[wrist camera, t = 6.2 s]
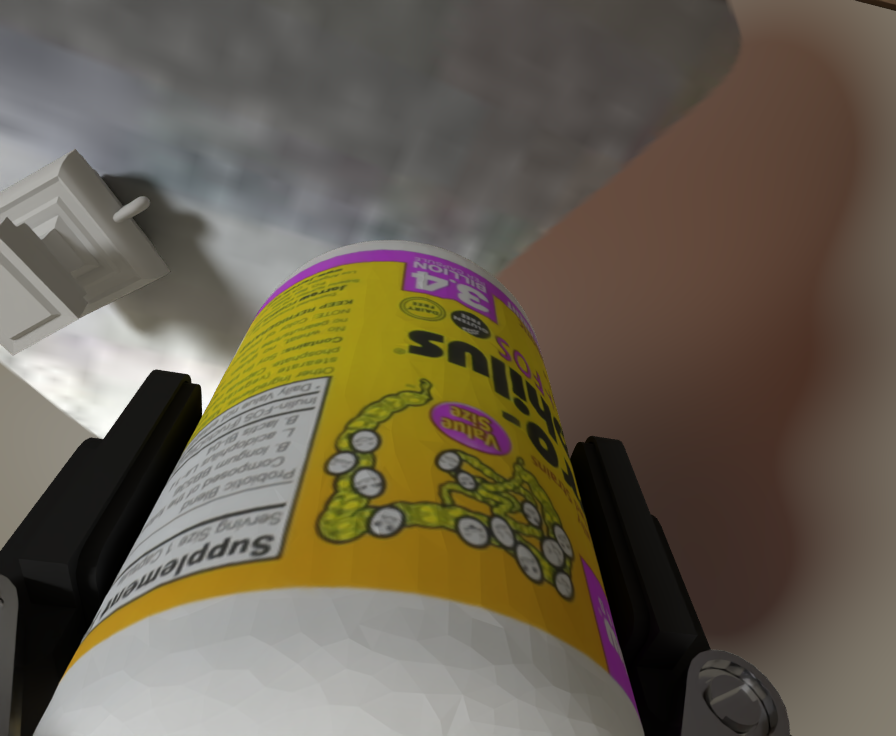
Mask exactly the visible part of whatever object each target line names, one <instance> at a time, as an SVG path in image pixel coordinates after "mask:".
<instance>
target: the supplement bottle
mask: <svg viewBox="0 0 896 736" xmlns="http://www.w3.org/2000/svg"><path fill="white" fill-rule="evenodd" d="M33 736H645V735H644V731H643V727H642V724H641V720H640V716H639V713H638V709H637V706H636V702H635V699H634V695H633V691H632V688H631V684H630V681H629V677H628V673H627V670H626V666H625V663H624V659H623V656H622V653H621V649H620V646H619V642H618V639H617V635H616V631H615V627H614V624H613V620H612V616H611V612H610V608H609V604H608V600H607V596H606V592H605V589H604V585H603V581H602V577H601V573H600V569H599V566H598V562H597V558H596V554H595V551H594V547H593V543H592V539H591V535H590V532H589V528H588V524H587V521H586V517H585V513H584V509H583V505H582V501H581V498H580V494H579V491H578V487H577V483H576V480H575V476H574V472H573V468H572V465H571V462H570V458H569V455H568V449H567V446H566V443H565V439H564V435H563V431H562V427H561V423H560V420H559V416H558V412H557V409H556V405H555V402H554V398H553V395H552V390H551V386H550V382H549V379H548V375H547V371H546V367H545V364H544V360H543V357H542V354H541V351H540V348H539V344H538V341H537V338H536V335H535V332H534V329H533V327H532V325H531V323H530V321H529V319H528V317H527V315H526V314H525V312H524V310H523V309H522V307H521V306H520V304H519V303H518V301H517V300H516V299H515V297H514V296H513V295H512V294H511V293H510V292H509V291H508V290H507V289H506V288H505V287H504V285H503V284H501V283H500V282H499V281H498V280H497V279H496V278H495V277H494V276H492V275H491V274H490V273H488V272H487V271H486V270H484V269H483V268H481V267H480V266H478V265H477V264H475V263H473V262H472V261H470V260H468V259H466V258H464V257H462V256H460V255H458V254H455V253H453V252H450V251H448V250H445V249H443V248H439V247H435V246H432V245H428V244H422V243H416V242H410V241H400V240H381V241H368V242H361V243H356V244H352V245H348V246H344V247H341V248H338V249H334V250H332V251H329V252H326V253H324V254H322V255H320V256H318V257H316V258H314V259H312V260H311V261H309V262H307V263H306V264H304V265H303V266H301V267H300V268H299V269H297V270H296V271H295V272H294V273H292V274H291V275H290V276H289V277H288V278H286V279H285V280H284V281H283V282H282V283H281V284H280V285H279V286H278V287H277V288H276V289H275V290H274V292H273V293H272V294H271V295H270V296H269V298H268V299H267V300H266V302H265V303H264V305H263V306H262V307H261V309H260V310H259V312H258V313H257V315H256V317H255V319H254V320H253V322H252V324H251V326H250V327H249V329H248V331H247V333H246V335H245V337H244V339H243V340H242V342H241V344H240V346H239V348H238V350H237V351H236V353H235V355H234V357H233V359H232V361H231V363H230V365H229V367H228V369H227V370H226V372H225V374H224V376H223V378H222V380H221V382H220V384H219V385H218V387H217V389H216V391H215V393H214V395H213V397H212V399H211V401H210V403H209V405H208V406H207V408H206V410H205V412H204V414H203V416H202V418H201V419H200V421H199V423H198V425H197V427H196V429H195V431H194V433H193V434H192V436H191V438H190V440H189V442H188V443H187V445H186V447H185V449H184V451H183V453H182V455H181V457H180V459H179V461H178V463H177V465H176V467H175V469H174V471H173V473H172V474H171V476H170V478H169V480H168V482H167V484H166V486H165V488H164V489H163V491H162V493H161V495H160V497H159V499H158V501H157V503H156V504H155V506H154V508H153V510H152V512H151V514H150V516H149V518H148V520H147V521H146V523H145V525H144V527H143V529H142V531H141V533H140V535H139V536H138V538H137V540H136V542H135V544H134V546H133V548H132V549H131V551H130V553H129V555H128V557H127V559H126V561H125V562H124V564H123V566H122V568H121V570H120V572H119V573H118V575H117V577H116V579H115V581H114V583H113V585H112V587H111V589H110V590H109V592H108V594H107V595H106V597H105V599H104V601H103V603H102V605H101V607H100V609H99V611H98V612H97V614H96V616H95V618H94V620H93V622H92V624H91V626H90V628H89V629H88V631H87V632H86V633H85V635H84V637H83V639H82V641H81V644H80V646H79V647H78V649H77V651H76V653H75V655H74V656H73V658H72V660H71V662H70V664H69V666H68V667H67V669H66V671H65V673H64V675H63V677H62V679H61V680H60V682H59V685H58V687H57V689H56V691H55V693H54V695H53V698H52V700H51V702H50V703H49V705H48V707H47V709H46V711H45V713H44V715H43V716H42V718H41V720H40V722H39V724H38V726H37V728H36V730H35V732H34V734H33Z"/></svg>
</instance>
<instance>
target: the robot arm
mask: <svg viewBox="0 0 896 736" xmlns="http://www.w3.org/2000/svg"><path fill="white" fill-rule="evenodd" d="M201 418H202V395H201V386H200V385H199V384H193V383H191V378H190V376H189V375H188V374H182V373H175V372H169V371H162V370H153V371H152V372H151V373H150V374H149V376H148V377H147V378H146V380H145V381H144V383H143V384H142V385H141V387H140V388H139V390H138V391H137V393H136V394H135V395H134V397H133V398H132V400H131V401H130V402H129V404H128V405H127V407H126V408H125V409H124V411H123V412H122V414H121V415H120V416H119V418H118V419H117V421H116V422H115V423H114V425H113V426H112V428H111V429H110V431H109V432H108V433H107V435H106V436H105V438H104V439H98V438H89V439H87V440H85V441H84V442H83V443H82V444H81V445H80V446H79V447H78V448H77V450H76V451H75V452H74V454H73V455H72V456H71V458H70V459H69V460H68V462H67V463H66V464H65V466H64V467H63V468H62V470H61V471H60V472H59V474H58V475H57V476H56V478H55V479H54V480H53V482H52V483H51V484H50V486H49V487H48V488H47V490H46V491H45V492H44V494H43V495H42V496H41V498H40V499H39V500H38V502H37V503H36V504H35V506H34V507H33V508H32V510H31V511H30V512H29V514H28V515H27V516H26V518H25V519H24V520H23V522H22V523H21V524H20V526H19V527H18V528H17V530H16V531H15V532H14V534H13V535H12V536H11V538H10V539H9V540H8V542H7V543H6V544H5V546H4V547H3V548H2V550H1V551H0V736H33V734H34V732H35V730H36V728H37V726H38V724H39V722H40V720H41V718H42V716H43V715H44V713H45V711H46V709H47V707H48V705H49V703H50V702H51V700H52V698H53V695H54V693H55V691H56V689H57V687H58V685H59V682H60V680H61V679H62V677H63V675H64V673H65V671H66V669H67V667H68V666H69V664H70V662H71V660H72V658H73V656H74V655H75V653H76V651H77V649H78V647H79V646H80V644H81V641H82V639H83V637H84V635H85V633H86V632H87V631H88V629H89V628H90V626H91V624H92V622H93V620H94V618H95V616H96V614H97V612H98V611H99V609H100V607H101V605H102V603H103V601H104V599H105V597H106V595H107V594H108V592H109V590H110V589H111V587H112V585H113V583H114V581H115V579H116V577H117V575H118V573H119V572H120V570H121V568H122V566H123V564H124V562H125V561H126V559H127V557H128V555H129V553H130V551H131V549H132V548H133V546H134V544H135V542H136V540H137V538H138V536H139V535H140V533H141V531H142V529H143V527H144V525H145V523H146V521H147V520H148V518H149V516H150V514H151V512H152V510H153V508H154V506H155V504H156V503H157V501H158V499H159V497H160V495H161V493H162V491H163V489H164V488H165V486H166V484H167V482H168V480H169V478H170V476H171V474H172V473H173V471H174V469H175V467H176V465H177V463H178V461H179V459H180V457H181V455H182V453H183V451H184V449H185V447H186V445H187V443H188V442H189V440H190V438H191V436H192V434H193V433H194V431H195V429H196V427H197V425H198V423H199V421H200V419H201ZM570 462H571V465H572V468H573V472H574V476H575V480H576V483H577V487H578V491H579V494H580V498H581V501H582V505H583V509H584V513H585V517H586V521H587V524H588V528H589V532H590V535H591V539H592V543H593V547H594V551H595V554H596V558H597V562H598V566H599V569H600V573H601V577H602V581H603V585H604V589H605V592H606V596H607V600H608V604H609V608H610V612H611V616H612V620H613V624H614V627H615V631H616V635H617V639H618V642H619V646H620V649H621V653H622V656H623V659H624V663H625V666H626V670H627V673H628V677H629V681H630V684H631V688H632V691H633V695H634V699H635V702H636V706H637V709H638V713H639V716H640V720H641V724H642V727H643V731H644V735H645V736H791V735H790V727H789V719H788V715H787V710H786V707H785V705H784V703H783V701H782V699H781V697H780V695H779V693H778V691H777V690H776V689H775V687H774V686H773V685H772V684H771V682H770V681H769V680H768V678H767V677H766V676H765V675H763V674H762V673H761V672H760V671H759V670H758V669H757V668H756V667H755V666H754V665H752V664H750V663H749V662H747V661H746V660H744V659H742V658H741V657H739V656H737V655H734V654H731V653H729V652H726V651H721V650H711V649H710V647H709V644H708V642H707V639H706V637H705V634H704V632H703V629H702V627H701V624H700V622H699V619H698V617H697V614H696V612H695V610H694V607H693V604H692V602H691V600H690V597H689V595H688V592H687V589H686V587H685V584H684V582H683V580H682V577H681V575H680V572H679V569H678V567H677V564H676V562H675V559H674V557H673V554H672V552H671V550H670V547H669V544H668V542H667V540H666V537H665V535H664V532H663V530H662V527H661V525H660V523H659V521H658V520H657V518H656V517H654V516H653V515H651V514H650V512H649V509H648V507H647V504H646V502H645V499H644V496H643V494H642V491H641V489H640V486H639V484H638V481H637V479H636V476H635V473H634V471H633V468H632V466H631V463H630V461H629V458H628V456H627V453H626V451H625V448H624V446H623V444H622V442H621V441H619V440H615V439H608V438H602V437H595V436H590V437H588V438H587V440H586V442H585V443H584V442H578V443H577V445H576V446H575V448H574V451H573V453H572V456H571V458H570Z"/></svg>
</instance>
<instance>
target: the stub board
mask: <svg viewBox="0 0 896 736" xmlns="http://www.w3.org/2000/svg"><path fill="white" fill-rule="evenodd" d="M856 1H859V2H863V3H867V4H871V5H875V6H879V7H883V8H887V9H891V10H894V11H896V0H856Z"/></svg>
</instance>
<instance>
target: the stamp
mask: <svg viewBox="0 0 896 736" xmlns="http://www.w3.org/2000/svg"><path fill="white" fill-rule="evenodd" d="M149 205H150V200H149V199H148V198H147V197H145V196H141V197H138V198H136V199H135V200H133V201H132V202H130V203H129V204H126V205H124V206H123V205H122V204H121V203H120V201H119V200H118V199H117V197H116V196H115V195H114V194H113V192H112V191H111V190H110V188H109V187H108V186H107V185H106V183H105V182H104V181H103V179H102V178H101V177H100V176H99V174H98V173H97V172H96V171H95V170H94V169H92V168H91V166H90V165H89V164H88V163H87V162H86V160H85V159H84V158H83V156H82V155H80V154H79V153H78V152H77V150H76V149H74V150H73V151H71V152H69V153H67V154H66V155H64V156H62V157H60V158H59V159H57V160H55V161H53V162H52V163H50V164H48V165H47V166H45V167H43V168H41V169H40V170H38V171H36V172H34V173H33V174H31V175H29V176H27V177H26V178H24V179H22V180H20V181H19V182H17V183H15V184H14V185H12V186H10V187H8V188H7V189H5V190H3V191H1V192H0V344H1V345H2V346H3V347H4V348H5V349H6V350H7V351H9V352H10V353H11V354H12V355H15V354H17V353H19V352H21V351H22V350H24V349H26V348H28V347H30V346H31V345H33V344H35V343H37V342H38V341H40V340H42V339H44V338H46V337H47V336H49V335H51V334H53V333H55V332H56V331H58V330H60V329H62V328H64V327H65V326H67V325H69V324H71V323H73V322H74V321H76V320H78V319H79V318H81V317H83V316H85V315H87V314H89V313H91V312H93V311H95V310H97V309H99V308H101V307H103V306H105V305H107V304H109V303H111V302H113V301H115V300H117V299H119V298H121V297H123V296H125V295H127V294H129V293H131V292H133V291H135V290H137V289H139V288H141V287H143V286H145V285H147V284H149V283H151V282H153V281H155V280H157V279H159V278H161V277H163V276H165V275H167V274H168V273H170V272H171V271H170V270H169V269H168V267H167V265H166V263H165V262H164V261H163V259H162V258H161V257H160V256H159V254H158V253H157V252H156V249H155V247H154V245H153V244H152V243H151V241H150V240H149V239H148V238H147V236H146V235H145V234H144V232H143V231H142V230H141V228H140V227H139V226H138V225H137V223H136V222H135V221H134V219H133V218H132V217H133V216H135V215H137V214H139V213H140V212H142V211H144V210H145V209H147V208H148V207H149Z"/></svg>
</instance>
